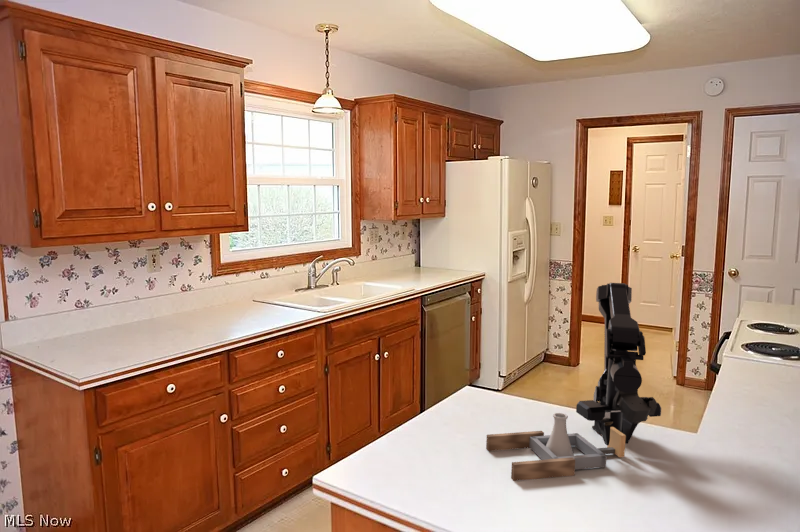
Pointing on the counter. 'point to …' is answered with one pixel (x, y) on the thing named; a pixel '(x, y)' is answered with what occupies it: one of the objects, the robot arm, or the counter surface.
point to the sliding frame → (583, 449)
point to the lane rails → (530, 468)
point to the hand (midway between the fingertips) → (616, 443)
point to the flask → (559, 437)
